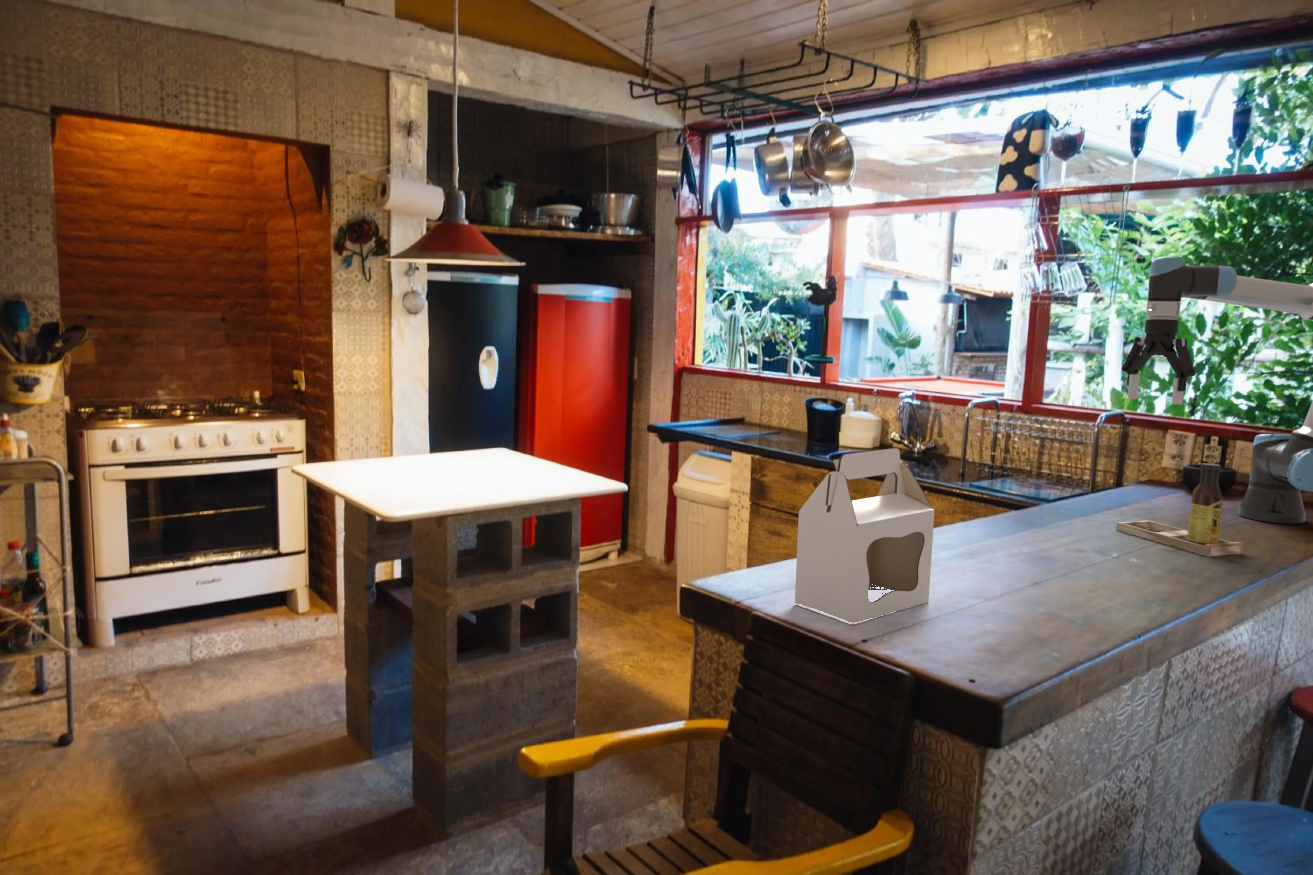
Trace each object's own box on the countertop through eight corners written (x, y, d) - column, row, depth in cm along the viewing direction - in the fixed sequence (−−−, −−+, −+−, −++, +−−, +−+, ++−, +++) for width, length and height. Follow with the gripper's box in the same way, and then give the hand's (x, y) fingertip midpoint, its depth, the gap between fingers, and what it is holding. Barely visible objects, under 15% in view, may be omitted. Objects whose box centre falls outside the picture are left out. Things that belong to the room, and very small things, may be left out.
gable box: (871, 585, 175) (879, 442, 171) (929, 602, 165) (939, 451, 161) (792, 605, 161) (799, 451, 157) (851, 626, 151) (860, 461, 147)
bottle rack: (1148, 527, 229) (1149, 518, 229) (1242, 553, 205) (1243, 542, 205) (1116, 530, 226) (1117, 520, 226) (1208, 556, 202) (1209, 545, 202)
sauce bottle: (1215, 553, 205) (1225, 467, 202) (1184, 548, 208) (1193, 464, 206) (1218, 548, 210) (1228, 464, 207) (1187, 543, 214) (1197, 461, 211)
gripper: (1111, 317, 240) (1104, 397, 243) (1194, 318, 217) (1185, 406, 220) (1133, 318, 243) (1126, 396, 245) (1217, 319, 219) (1208, 406, 222)
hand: (1154, 401), depth 233 cm, fingers open, 13 cm apart
